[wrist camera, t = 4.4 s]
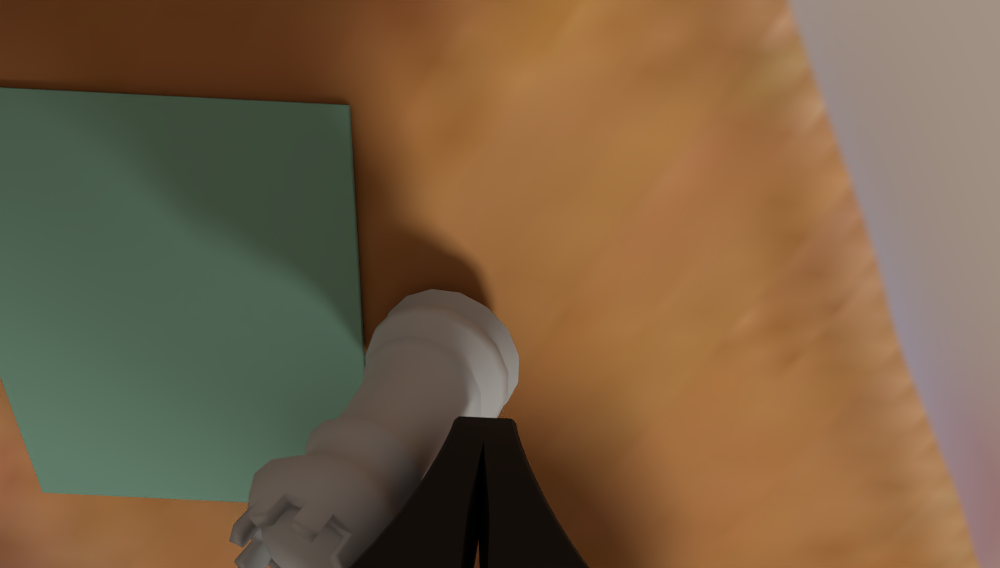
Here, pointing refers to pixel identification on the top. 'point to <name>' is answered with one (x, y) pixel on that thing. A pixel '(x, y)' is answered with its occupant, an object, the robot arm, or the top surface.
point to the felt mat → (174, 286)
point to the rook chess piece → (380, 434)
